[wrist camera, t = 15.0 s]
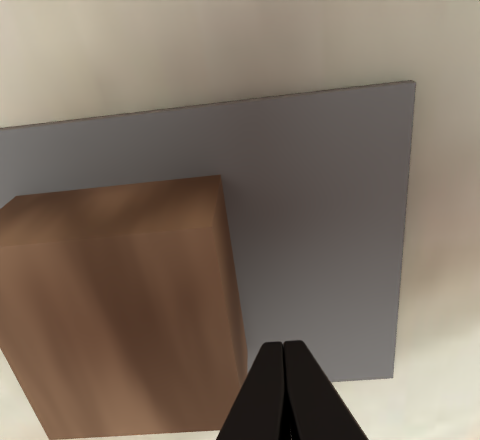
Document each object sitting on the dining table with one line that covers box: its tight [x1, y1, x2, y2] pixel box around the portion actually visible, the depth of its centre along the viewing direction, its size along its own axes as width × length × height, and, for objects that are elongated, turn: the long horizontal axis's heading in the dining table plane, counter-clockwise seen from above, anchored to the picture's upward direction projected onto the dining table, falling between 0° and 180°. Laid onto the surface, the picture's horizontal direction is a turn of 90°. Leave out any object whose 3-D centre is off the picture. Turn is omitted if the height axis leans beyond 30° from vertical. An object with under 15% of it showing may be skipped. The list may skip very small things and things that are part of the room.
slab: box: [0, 175, 248, 440], centre depth 16 cm, size 4×9×8 cm
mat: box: [0, 80, 416, 382], centre depth 18 cm, size 16×14×1 cm
